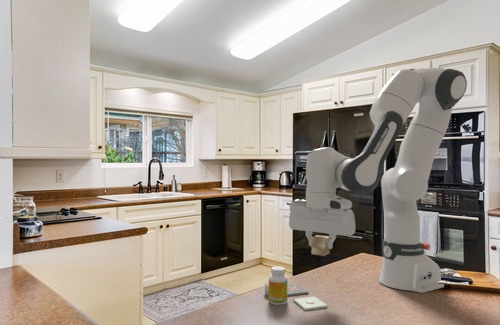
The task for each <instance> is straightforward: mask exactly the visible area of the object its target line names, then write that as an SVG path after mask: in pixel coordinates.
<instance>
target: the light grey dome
mask: <svg viewBox="0 0 500 325" xmlns="http://www.w3.org/2000/svg"><path fill="white" fill-rule="evenodd" d="M264 295H265V297H266V296H267V297H268V298H269V281H268V282H266V283H265V284H264Z"/></svg>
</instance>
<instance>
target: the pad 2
mask: <svg viewBox="0 0 500 325" xmlns="http://www.w3.org/2000/svg"><path fill="white" fill-rule="evenodd" d="M293 302H294V303H295V304H296V305H297V306H299V307H300V308H301V309H302V310H303V311H311V310H319V309H326V308H327V309H328V304H326V303H325V302H324V301H322V300H321V299H319V297H317V296H310V297H309V296H306V297H299V298H293Z"/></svg>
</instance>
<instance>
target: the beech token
mask: <svg viewBox="0 0 500 325" xmlns="http://www.w3.org/2000/svg"><path fill="white" fill-rule="evenodd" d="M330 239H331V238H330V237H329V236H327V235H318V234H317V235H314V236H312V246H311V255H315V256H320V257H325V256H328V255H330V253H331V252H330V250H331V249H327V248H326V242H329V241H330Z"/></svg>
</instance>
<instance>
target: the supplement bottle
mask: <svg viewBox="0 0 500 325" xmlns="http://www.w3.org/2000/svg"><path fill="white" fill-rule="evenodd" d="M270 273H271V274H269V276H268V282H269V297H268V302H269V303H270V304H272V305H275V306H282V305H286V304H287V302H288V296H287V286H288V276H287V275H286V268H285V267H284V266H279V265H277V266H272V267H271V270H270Z"/></svg>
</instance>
